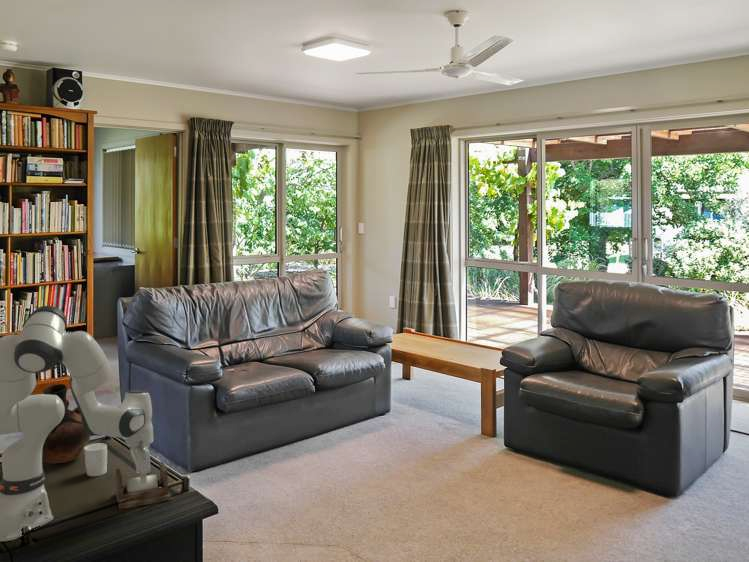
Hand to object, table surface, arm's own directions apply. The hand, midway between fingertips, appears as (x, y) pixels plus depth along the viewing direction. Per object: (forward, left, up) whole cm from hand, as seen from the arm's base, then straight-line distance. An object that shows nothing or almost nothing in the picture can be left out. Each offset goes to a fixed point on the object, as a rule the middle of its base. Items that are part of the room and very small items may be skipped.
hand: (141, 477), depth 230 cm
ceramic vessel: (+23, +47, -7) cm, 53 cm away
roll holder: (-1, -1, -7) cm, 7 cm away
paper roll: (-1, -1, -5) cm, 5 cm away
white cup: (+15, +27, -7) cm, 32 cm away
